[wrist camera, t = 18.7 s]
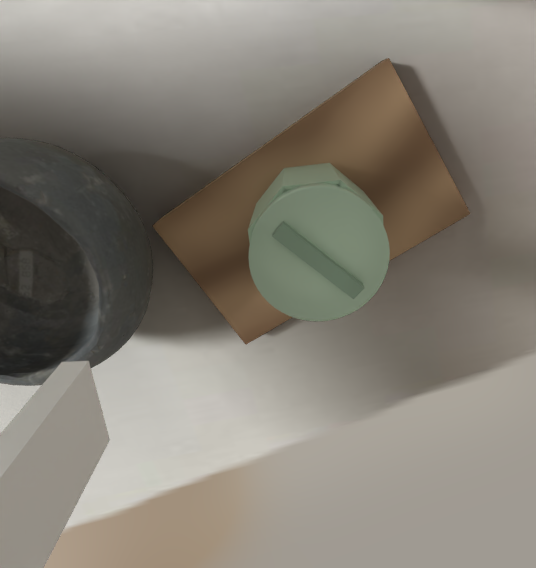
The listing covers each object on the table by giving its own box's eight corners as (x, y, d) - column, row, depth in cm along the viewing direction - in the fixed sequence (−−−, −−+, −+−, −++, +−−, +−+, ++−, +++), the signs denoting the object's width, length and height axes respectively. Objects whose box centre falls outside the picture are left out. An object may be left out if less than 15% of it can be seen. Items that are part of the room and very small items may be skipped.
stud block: (160, 218, 32) (124, 251, 25) (382, 60, 28) (413, 47, 21) (248, 331, 35) (238, 388, 28) (459, 206, 31) (508, 237, 24)
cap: (237, 227, 30) (219, 272, 22) (304, 141, 28) (310, 158, 20) (317, 287, 31) (326, 350, 24) (386, 210, 29) (423, 252, 21)
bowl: (83, 359, 37) (15, 445, 28) (-67, 223, 33) (-205, 270, 24) (215, 253, 33) (186, 312, 24) (62, 83, 29) (-45, 75, 20)
